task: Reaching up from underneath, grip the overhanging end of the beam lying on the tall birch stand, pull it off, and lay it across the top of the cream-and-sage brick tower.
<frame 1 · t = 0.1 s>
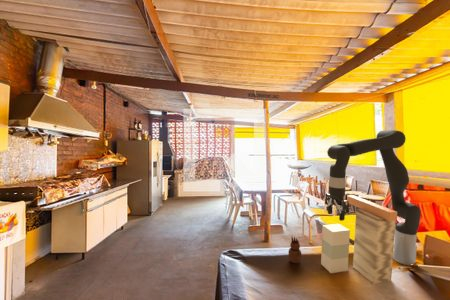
hand: (335, 216, 112), 29 cm above the table, tool pointing down, fingers open, 8 cm apart
tower: (334, 267, 118), on the table
wooden figurine: (294, 262, 123), on the table
beam: (369, 210, 114), point 32 cm above the table, touching stand
stand: (371, 273, 113), on the table
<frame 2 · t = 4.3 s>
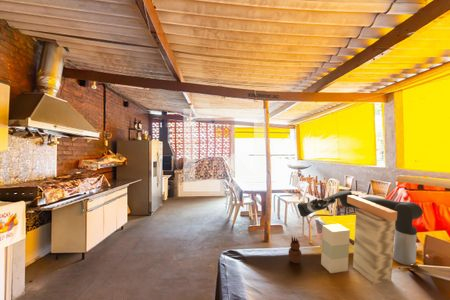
hand: (329, 200, 139), 29 cm above the table, tool pointing upward, fingers open, 8 cm apart
nothing on the table moved.
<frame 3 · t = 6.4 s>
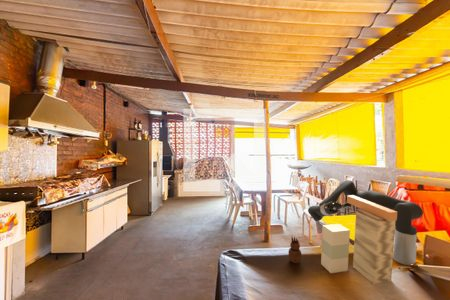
hand: (345, 203, 129), 30 cm above the table, tool pointing upward, fingers open, 8 cm apart
nothing on the table moved.
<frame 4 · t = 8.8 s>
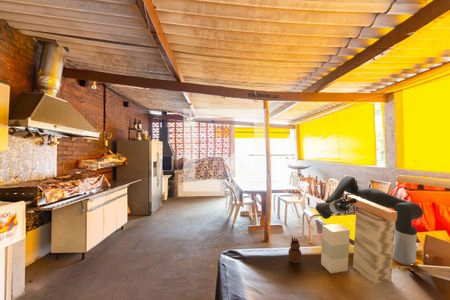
hand: (359, 199, 120), 35 cm above the table, tool pointing upward, fingers closed on beam, 4 cm apart
beam: (369, 210, 114), point 32 cm above the table, touching gripper, stand
everything else where it was.
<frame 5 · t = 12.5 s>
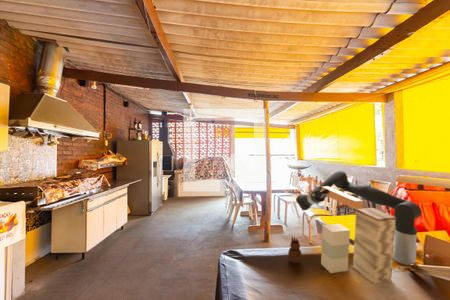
hand: (331, 190, 124), 39 cm above the table, tool pointing upward, fingers closed on beam, 4 cm apart
beam: (339, 200, 118), point 36 cm above the table, touching gripper
everything else where it was.
when the fingers open (27 cm above the table, at t = 16.3 s): beam drops 1 cm, resting on tower.
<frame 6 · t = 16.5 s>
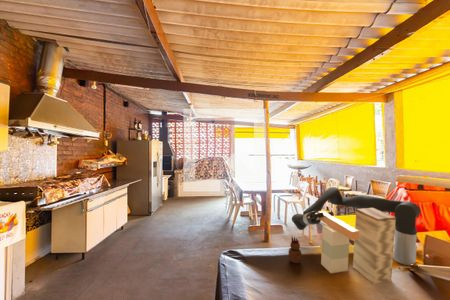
hand: (327, 214, 123), 27 cm above the table, tool pointing upward, fingers open, 5 cm apart
beam: (336, 227, 116), point 22 cm above the table, touching tower
everything else where it was.
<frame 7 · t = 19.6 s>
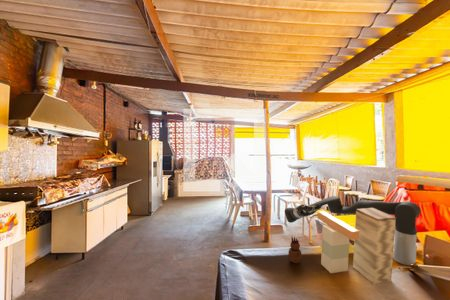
hand: (314, 206, 135), 27 cm above the table, tool pointing upward, fingers open, 8 cm apart
nothing on the table moved.
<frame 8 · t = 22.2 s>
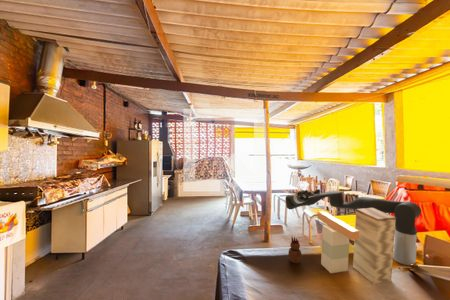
hand: (313, 191, 138), 35 cm above the table, tool pointing upward, fingers open, 8 cm apart
nothing on the table moved.
at the end: beam inside the target area on the tower (0.2 cm from its centre), point 22.0 cm above the tower's base; beam touching tower; the gripper is holding nothing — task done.
